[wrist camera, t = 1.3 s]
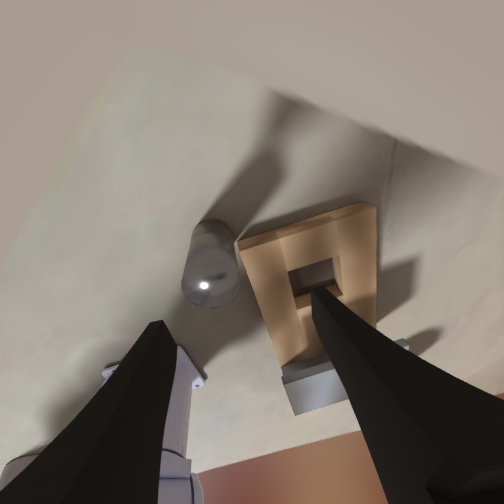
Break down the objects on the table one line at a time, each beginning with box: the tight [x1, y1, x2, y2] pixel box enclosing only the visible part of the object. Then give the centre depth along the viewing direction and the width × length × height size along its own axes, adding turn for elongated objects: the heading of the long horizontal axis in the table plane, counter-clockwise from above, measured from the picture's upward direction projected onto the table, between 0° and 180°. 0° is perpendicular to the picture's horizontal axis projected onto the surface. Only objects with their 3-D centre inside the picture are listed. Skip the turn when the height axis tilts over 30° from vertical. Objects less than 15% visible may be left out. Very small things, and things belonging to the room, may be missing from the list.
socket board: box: [237, 201, 409, 416], centre depth 22 cm, size 12×18×7 cm, turn 16°
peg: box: [181, 220, 240, 308], centre depth 17 cm, size 4×4×7 cm
